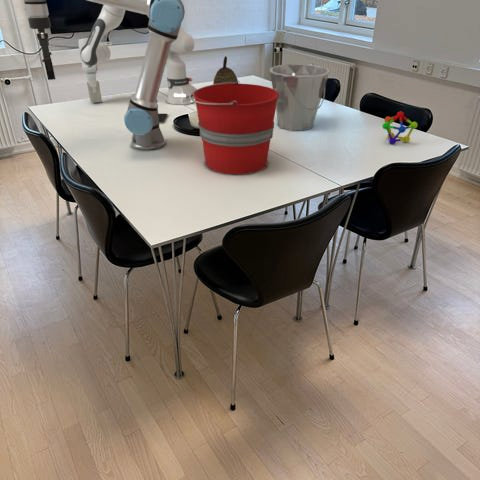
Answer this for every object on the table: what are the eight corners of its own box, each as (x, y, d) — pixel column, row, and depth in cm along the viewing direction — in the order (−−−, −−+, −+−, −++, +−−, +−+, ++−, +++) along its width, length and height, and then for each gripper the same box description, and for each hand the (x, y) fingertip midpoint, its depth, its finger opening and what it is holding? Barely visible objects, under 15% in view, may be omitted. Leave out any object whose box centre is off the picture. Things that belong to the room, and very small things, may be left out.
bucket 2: (296, 138, 215) (301, 78, 201) (255, 124, 234) (256, 68, 219) (335, 125, 232) (342, 70, 217) (294, 113, 251) (297, 61, 236)
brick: (90, 100, 269) (86, 81, 263) (100, 99, 271) (97, 80, 265) (91, 102, 265) (87, 83, 259) (102, 101, 267) (98, 82, 261)
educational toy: (377, 146, 209) (379, 114, 202) (384, 138, 219) (386, 107, 211) (411, 149, 202) (415, 116, 195) (417, 141, 212) (420, 109, 204)
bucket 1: (198, 147, 204) (194, 79, 188) (274, 148, 203) (277, 80, 187) (188, 177, 175) (183, 101, 159) (277, 179, 174) (281, 102, 158)
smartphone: (149, 121, 235) (154, 113, 247) (150, 122, 235) (155, 114, 248) (163, 121, 235) (167, 113, 247) (163, 123, 235) (168, 114, 248)
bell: (227, 105, 294) (202, 96, 282) (238, 66, 289) (213, 55, 277) (243, 108, 280) (217, 98, 268) (255, 66, 275) (229, 55, 263)
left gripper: (27, 14, 174) (40, 70, 185) (27, 20, 155) (41, 83, 166) (47, 13, 177) (59, 69, 188) (50, 19, 157) (62, 81, 168)
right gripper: (84, 63, 265) (88, 87, 273) (84, 70, 249) (89, 95, 256) (95, 63, 267) (99, 86, 274) (96, 69, 250) (100, 94, 258)
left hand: (51, 76), depth 177 cm, fingers open, 13 cm apart
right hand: (94, 91), depth 265 cm, fingers closed on brick, 5 cm apart
